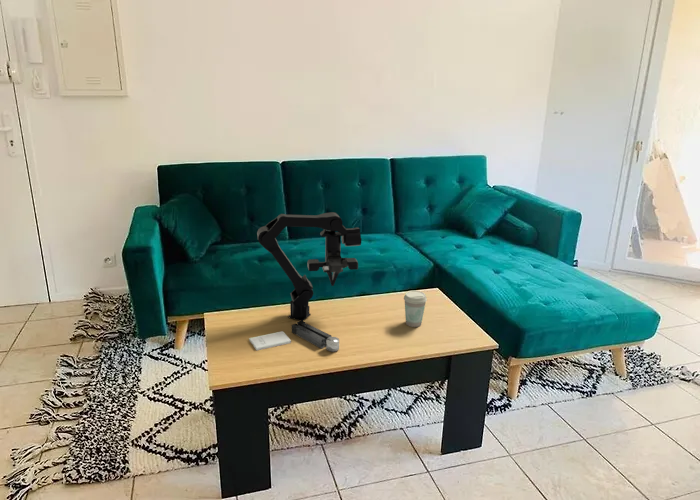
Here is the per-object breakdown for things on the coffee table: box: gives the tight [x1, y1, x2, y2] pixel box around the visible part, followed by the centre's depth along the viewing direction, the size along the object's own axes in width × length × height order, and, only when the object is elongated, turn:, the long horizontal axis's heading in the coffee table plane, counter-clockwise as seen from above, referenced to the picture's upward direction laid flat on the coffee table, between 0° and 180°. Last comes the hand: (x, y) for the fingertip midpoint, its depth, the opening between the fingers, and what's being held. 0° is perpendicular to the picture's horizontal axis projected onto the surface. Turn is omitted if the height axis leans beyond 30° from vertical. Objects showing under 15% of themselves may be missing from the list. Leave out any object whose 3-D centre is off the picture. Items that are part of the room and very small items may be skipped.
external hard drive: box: [248, 330, 292, 351], centre depth 184 cm, size 2×8×12 cm
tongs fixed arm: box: [291, 322, 326, 349], centre depth 185 cm, size 16×2×3 cm, turn 45°
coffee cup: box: [403, 290, 428, 328], centre depth 198 cm, size 8×8×12 cm
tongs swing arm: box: [296, 320, 340, 352], centre depth 184 cm, size 21×5×3 cm, turn 46°
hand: (332, 285), depth 202 cm, fingers closed
